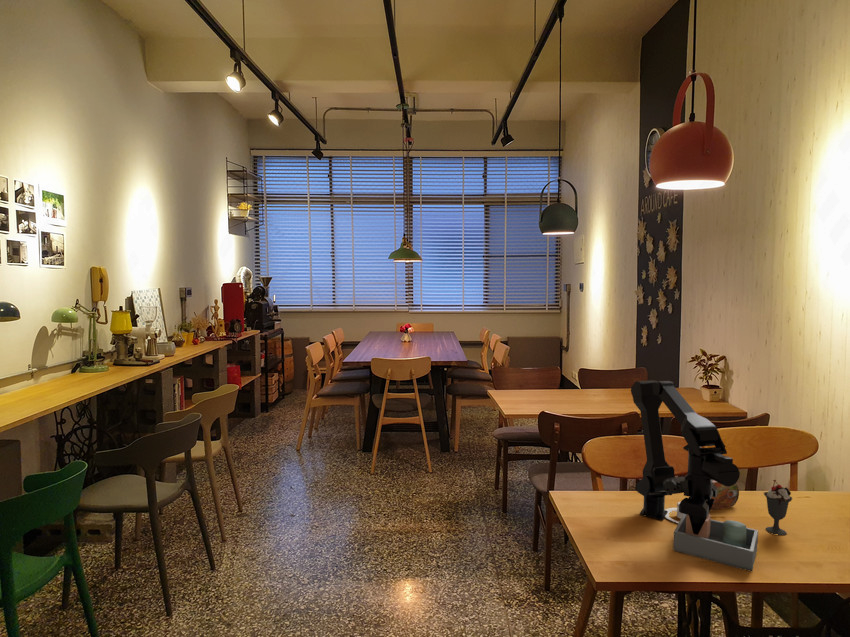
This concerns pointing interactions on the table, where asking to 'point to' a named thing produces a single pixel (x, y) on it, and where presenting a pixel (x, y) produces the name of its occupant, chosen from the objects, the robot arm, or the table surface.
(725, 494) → the tin
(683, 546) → the tote
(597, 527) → the table surface
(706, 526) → the cube
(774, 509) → the sundae
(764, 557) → the table surface
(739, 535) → the cylinder
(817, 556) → the table surface
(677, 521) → the candle holder
